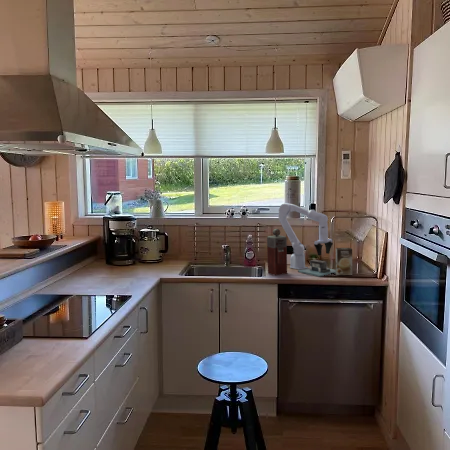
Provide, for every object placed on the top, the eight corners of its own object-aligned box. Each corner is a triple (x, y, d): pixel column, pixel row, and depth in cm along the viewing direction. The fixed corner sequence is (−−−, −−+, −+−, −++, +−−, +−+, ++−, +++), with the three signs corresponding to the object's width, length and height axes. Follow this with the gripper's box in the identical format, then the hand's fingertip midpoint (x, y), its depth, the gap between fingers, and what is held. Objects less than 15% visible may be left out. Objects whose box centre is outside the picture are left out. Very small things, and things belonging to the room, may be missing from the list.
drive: (310, 269, 283) (310, 260, 283) (314, 268, 286) (314, 259, 285) (321, 272, 275) (321, 262, 275) (326, 271, 277) (326, 261, 277)
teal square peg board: (297, 272, 283) (297, 266, 282) (318, 267, 293) (318, 262, 292) (319, 276, 268) (319, 271, 268) (339, 272, 278) (339, 266, 278)
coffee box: (336, 275, 269) (336, 249, 267) (335, 273, 275) (335, 247, 273) (352, 275, 268) (352, 249, 266) (350, 273, 274) (350, 247, 272)
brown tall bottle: (277, 276, 274) (276, 230, 271) (267, 272, 284) (266, 228, 281) (289, 274, 278) (288, 229, 275) (279, 271, 288) (278, 227, 285)
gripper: (320, 235, 280) (320, 256, 282) (335, 232, 288) (336, 253, 290) (311, 234, 286) (312, 255, 287) (327, 231, 294) (327, 252, 296)
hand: (323, 254), depth 289 cm, fingers open, 7 cm apart
